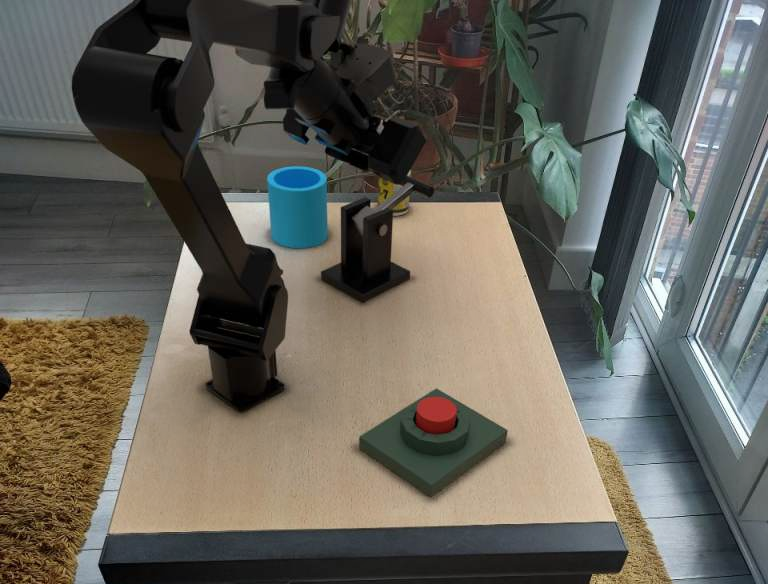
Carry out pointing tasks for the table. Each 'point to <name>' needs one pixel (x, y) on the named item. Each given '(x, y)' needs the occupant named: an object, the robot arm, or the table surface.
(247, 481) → the table surface
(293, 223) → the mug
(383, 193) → the supplement bottle
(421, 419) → the button
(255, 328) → the robot arm
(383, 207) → the lever
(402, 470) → the switch
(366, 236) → the lever bracket
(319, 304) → the table surface
